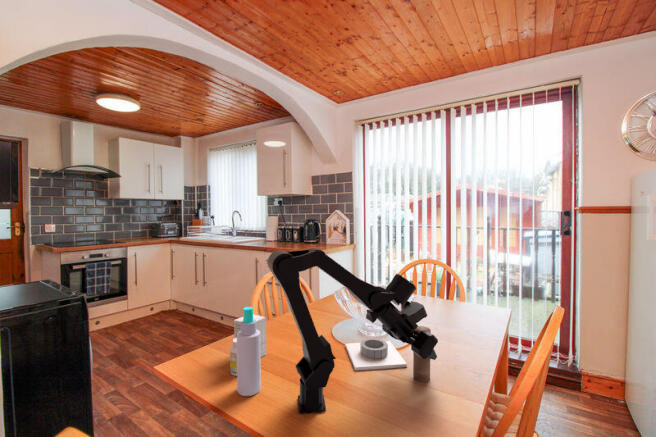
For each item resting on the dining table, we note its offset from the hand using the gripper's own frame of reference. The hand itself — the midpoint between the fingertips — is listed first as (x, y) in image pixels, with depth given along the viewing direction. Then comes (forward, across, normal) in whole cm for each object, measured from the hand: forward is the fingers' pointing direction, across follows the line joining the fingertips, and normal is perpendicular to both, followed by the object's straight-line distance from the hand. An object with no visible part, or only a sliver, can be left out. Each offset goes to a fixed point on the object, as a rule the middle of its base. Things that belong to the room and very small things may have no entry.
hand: (424, 350), depth 87 cm
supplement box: (-26, +30, +37) cm, 55 cm away
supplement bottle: (-29, +22, +40) cm, 54 cm away
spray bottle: (-28, +12, +39) cm, 50 cm away
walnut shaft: (+5, 0, +6) cm, 8 cm away
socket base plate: (0, +16, +10) cm, 19 cm away
